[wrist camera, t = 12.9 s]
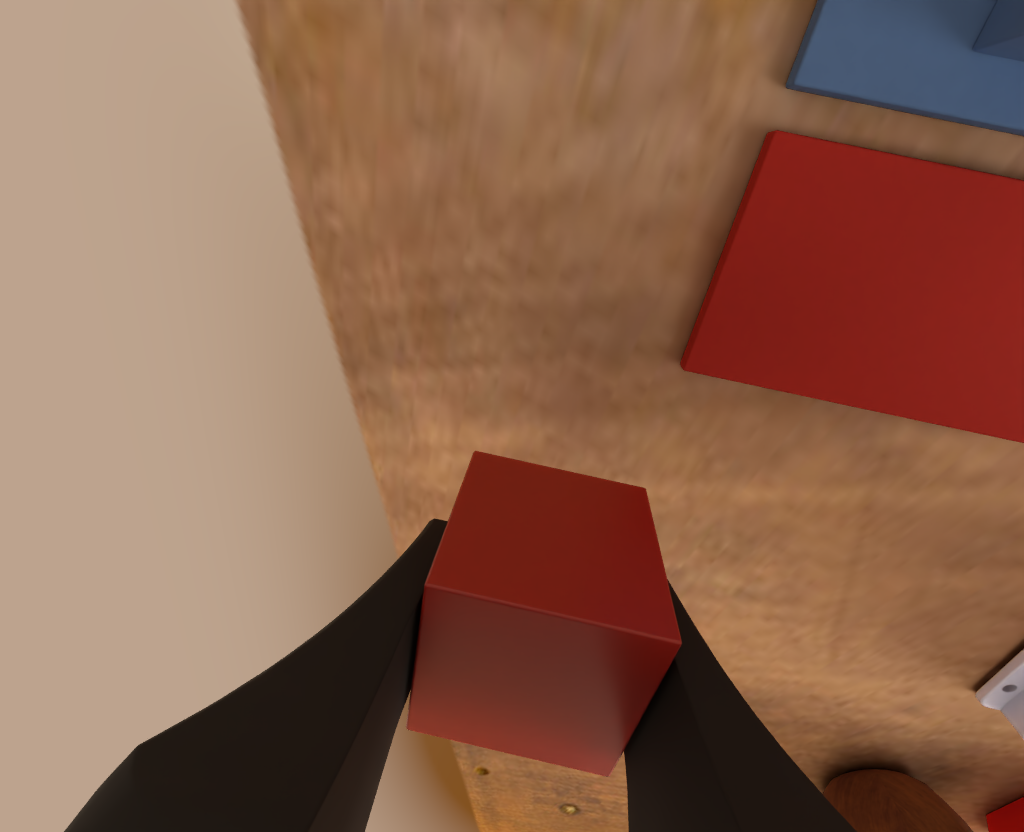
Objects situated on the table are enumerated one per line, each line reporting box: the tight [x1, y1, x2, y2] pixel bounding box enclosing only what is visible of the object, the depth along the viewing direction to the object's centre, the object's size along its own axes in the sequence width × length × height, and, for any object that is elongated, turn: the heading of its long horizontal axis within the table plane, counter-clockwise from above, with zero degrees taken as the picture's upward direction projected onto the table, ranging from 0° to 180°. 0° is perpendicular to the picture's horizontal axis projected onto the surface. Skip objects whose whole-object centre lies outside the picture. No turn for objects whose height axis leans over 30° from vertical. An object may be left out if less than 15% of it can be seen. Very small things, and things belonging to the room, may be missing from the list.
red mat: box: [680, 130, 1024, 443], centre depth 14 cm, size 7×12×1 cm, turn 80°
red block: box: [406, 451, 682, 777], centre depth 11 cm, size 4×4×4 cm
